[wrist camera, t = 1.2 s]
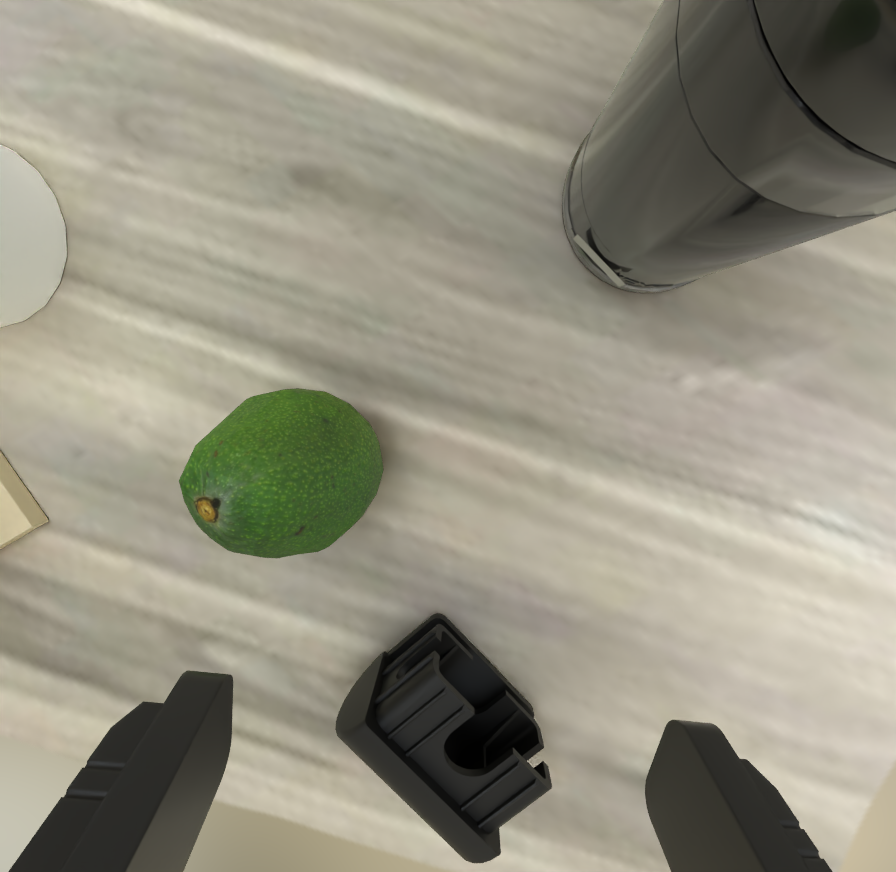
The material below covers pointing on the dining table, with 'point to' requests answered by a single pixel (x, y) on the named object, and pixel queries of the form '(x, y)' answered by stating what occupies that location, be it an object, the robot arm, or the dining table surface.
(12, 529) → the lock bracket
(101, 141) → the dining table surface
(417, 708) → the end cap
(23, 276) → the mug
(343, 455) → the avocado
